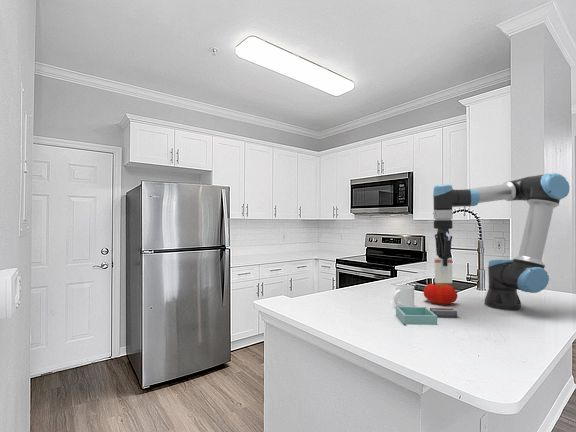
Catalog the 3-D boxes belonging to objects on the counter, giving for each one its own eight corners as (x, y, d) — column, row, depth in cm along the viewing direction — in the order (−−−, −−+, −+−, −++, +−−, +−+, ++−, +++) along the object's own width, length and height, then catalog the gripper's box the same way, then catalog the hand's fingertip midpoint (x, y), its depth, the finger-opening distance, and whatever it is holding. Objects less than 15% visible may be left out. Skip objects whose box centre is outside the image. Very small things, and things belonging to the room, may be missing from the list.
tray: (425, 316, 143) (425, 307, 143) (437, 326, 130) (437, 316, 130) (395, 315, 144) (395, 306, 144) (404, 325, 131) (404, 315, 131)
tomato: (438, 298, 174) (438, 280, 174) (463, 306, 159) (463, 286, 159) (416, 300, 170) (416, 282, 170) (440, 309, 154) (440, 288, 154)
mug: (400, 311, 150) (400, 289, 150) (387, 307, 157) (387, 286, 157) (417, 308, 156) (417, 286, 156) (404, 304, 163) (403, 283, 163)
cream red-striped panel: (450, 282, 143) (450, 257, 143) (452, 283, 142) (452, 258, 142) (434, 282, 144) (434, 257, 144) (435, 283, 142) (435, 258, 142)
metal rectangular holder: (453, 314, 146) (453, 306, 146) (461, 319, 138) (461, 311, 138) (426, 313, 147) (426, 306, 147) (432, 319, 139) (432, 311, 139)
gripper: (428, 219, 150) (428, 270, 150) (440, 220, 136) (441, 275, 136) (444, 219, 150) (445, 270, 150) (459, 219, 135) (459, 276, 135)
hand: (443, 272), depth 143 cm, fingers closed on cream red-striped panel, 1 cm apart
